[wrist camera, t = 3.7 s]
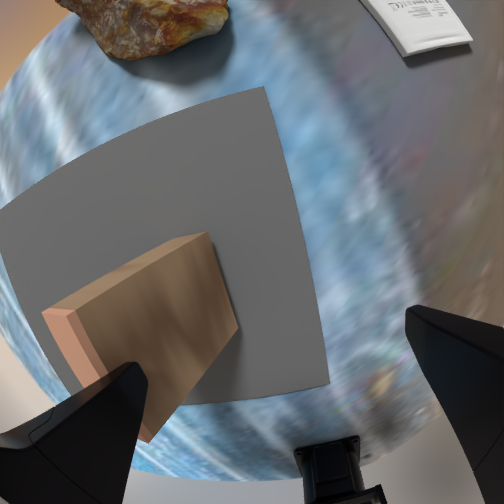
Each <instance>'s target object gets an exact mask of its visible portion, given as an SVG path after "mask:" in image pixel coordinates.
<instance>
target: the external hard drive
mask: <svg viewBox="0 0 504 504" xmlns="http://www.w3.org/2000/svg"><path fill="white" fill-rule="evenodd" d="M360 1H361V2H362V3H363V5H364V6H365V7H366V8H367V9H368V11H369V12H370V13H371V14H372V15H373V17H374V18H375V19H376V20H377V22H378V23H379V24H380V26H381V27H382V28H383V30H384V31H385V32H386V34H387V35H388V36H389V38H390V39H391V41H392V42H393V44H394V45H395V47H396V48H397V50H398V51H399V53H400V54H401V56H402V57H407V56H410V55H414V54H418V53H422V52H426V51H431V50H434V49H437V48H441V47H450V46H456V45H462V44H468V43H470V42H472V41H473V39H472V38H471V36H470V35H469V33H468V31H467V30H466V29H465V27H464V26H463V24H462V23H461V21H460V20H459V18H458V17H457V15H456V14H455V13H454V11H453V10H452V8H451V7H450V6H449V4H448V3H447V2H446V1H445V0H360Z"/></svg>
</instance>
